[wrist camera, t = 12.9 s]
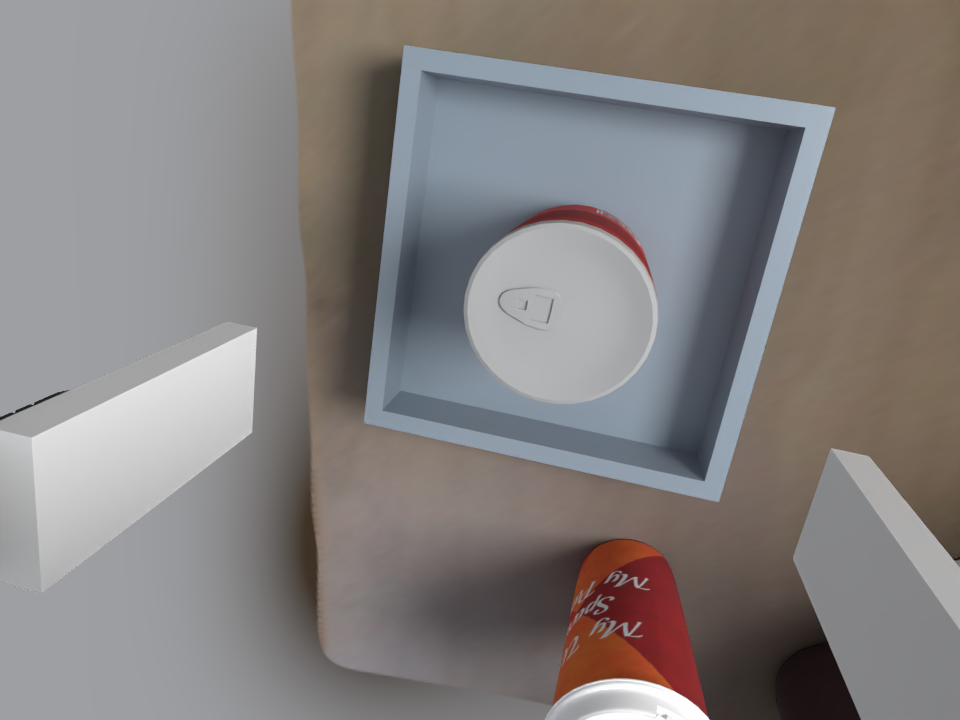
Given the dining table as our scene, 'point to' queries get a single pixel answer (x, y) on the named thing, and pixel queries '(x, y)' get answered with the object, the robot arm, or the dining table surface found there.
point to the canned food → (563, 306)
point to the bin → (620, 192)
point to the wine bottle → (814, 687)
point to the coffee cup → (627, 642)
